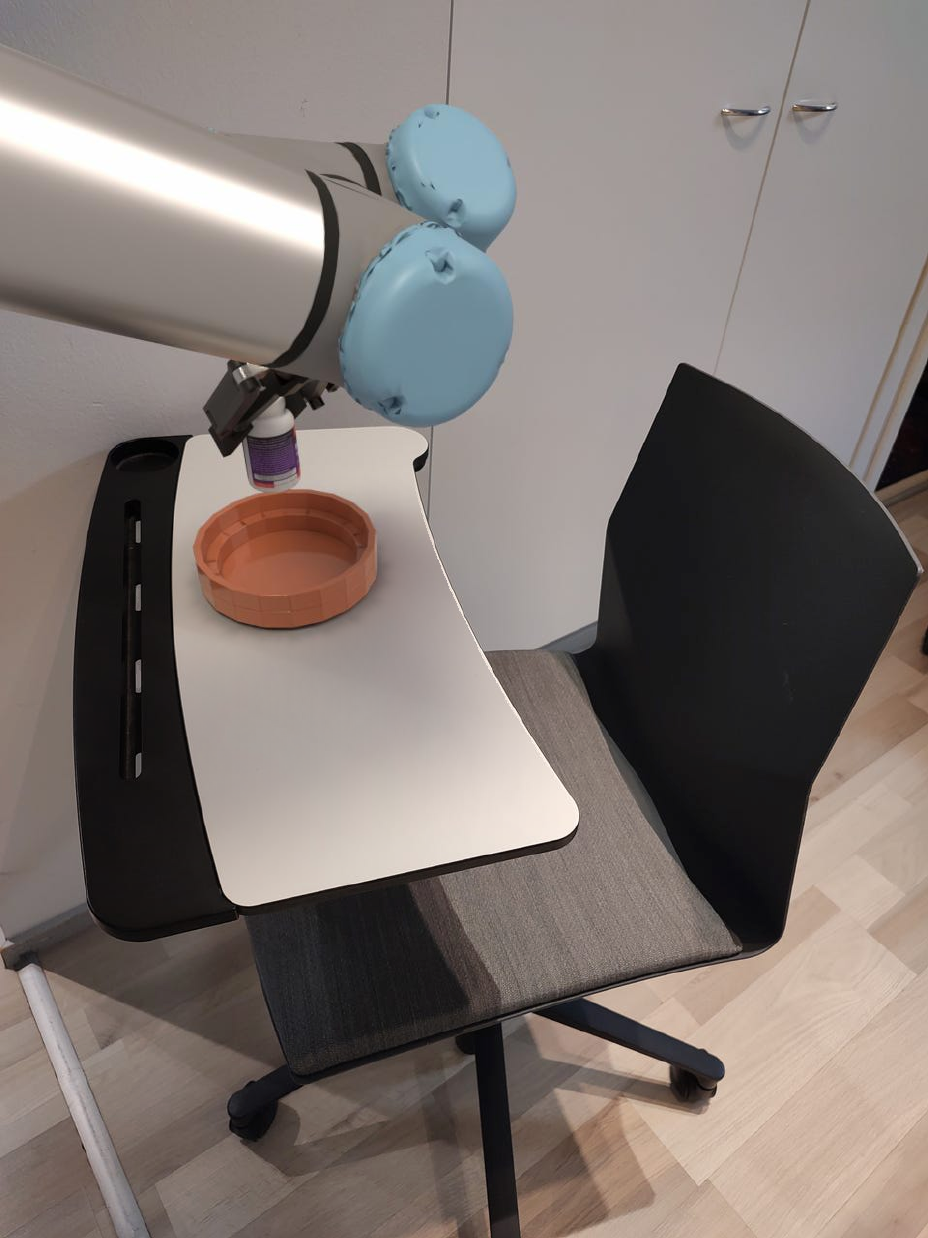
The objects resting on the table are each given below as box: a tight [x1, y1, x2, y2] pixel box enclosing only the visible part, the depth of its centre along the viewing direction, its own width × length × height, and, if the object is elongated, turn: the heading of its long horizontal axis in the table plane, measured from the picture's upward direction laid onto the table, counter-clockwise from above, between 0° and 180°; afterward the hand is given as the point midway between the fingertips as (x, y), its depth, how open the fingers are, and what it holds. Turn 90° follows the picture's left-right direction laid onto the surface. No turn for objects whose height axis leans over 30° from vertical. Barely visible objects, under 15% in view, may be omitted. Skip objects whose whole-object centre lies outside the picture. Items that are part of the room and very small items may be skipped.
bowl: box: [192, 488, 378, 628], centre depth 88 cm, size 17×17×4 cm
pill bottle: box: [241, 397, 302, 493], centre depth 76 cm, size 5×5×8 cm
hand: (245, 431), depth 78 cm, fingers closed on pill bottle, 5 cm apart
